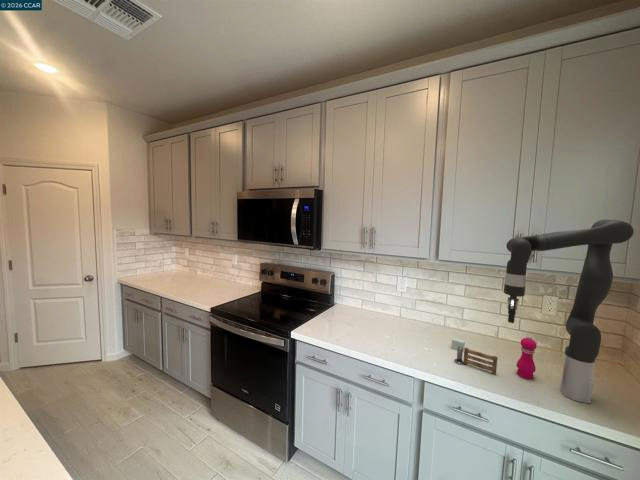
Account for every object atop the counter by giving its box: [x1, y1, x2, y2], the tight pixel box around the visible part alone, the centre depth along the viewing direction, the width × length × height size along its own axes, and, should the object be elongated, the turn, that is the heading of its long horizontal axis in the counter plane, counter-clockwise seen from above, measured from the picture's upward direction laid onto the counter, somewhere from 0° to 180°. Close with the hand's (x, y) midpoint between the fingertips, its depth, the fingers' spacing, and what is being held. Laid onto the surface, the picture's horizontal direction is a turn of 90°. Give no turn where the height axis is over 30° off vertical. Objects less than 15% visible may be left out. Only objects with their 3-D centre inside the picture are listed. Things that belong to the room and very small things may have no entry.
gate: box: [462, 346, 499, 375], centre depth 134 cm, size 14×2×8 cm, turn 52°
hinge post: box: [454, 346, 465, 366], centre depth 139 cm, size 4×4×8 cm
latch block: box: [451, 337, 466, 352], centre depth 153 cm, size 6×3×5 cm, turn 52°
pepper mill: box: [516, 334, 537, 380], centre depth 128 cm, size 7×7×20 cm
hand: (511, 322), depth 120 cm, fingers closed
